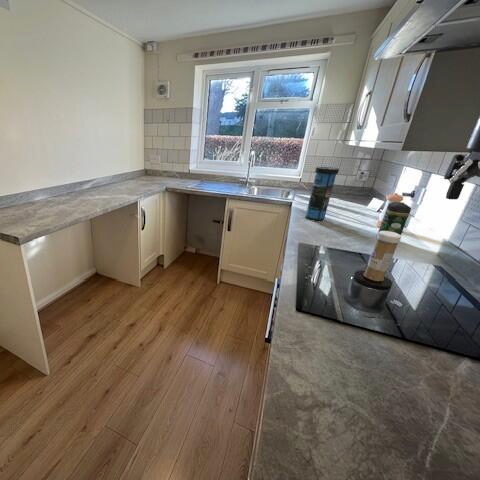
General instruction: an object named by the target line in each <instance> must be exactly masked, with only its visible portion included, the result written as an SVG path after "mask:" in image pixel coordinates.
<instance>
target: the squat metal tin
mask: <svg viewBox="0 0 480 480" xmlns="http://www.w3.org/2000/svg"><path fill="white" fill-rule="evenodd" d="M365 271H366V270H356V271H354V272H353V274H352V275H351V277H350V279H349V283H348V285H347V288H346V292H345V294H344V297H343V298H344V301H345V302H346V303H347V305H349V306H350V307H353V308H354V309H356V310H358V311H362V312H364V313H368V314H381V313H382V312H383V311H384V309H385V307H386V305H387V302H388V300H389V297H390V295H391V292H392V290H393V281H392V280H391V279H390V278H388V277H387V276H386V275H385V276H384V280H383V281H373V280H370V279H368V278H366V277H365V276H364V273H365ZM362 317H364V318H366V316H364V315H363V316H362ZM367 318H369V319H376V318H377V317H376V316H367Z"/></svg>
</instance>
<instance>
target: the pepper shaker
mask: <svg viewBox="0 0 480 480" xmlns="http://www.w3.org/2000/svg"><path fill="white" fill-rule="evenodd" d="M385 199H386V202H385V204H384V208H383V209H382V211H381V213H380V215H379V218H378V219H377V220H376V223H375V227H377V228H379V229H380V226H381V224H382V221H383V218H384V215H385V212H386V209H387V207H388V204H389V203H392V202H403V201H404V197H403V196H402V195H401V194H399V193H397V192H395V193H392V194H391V193H390V194H388V195H386V196H385Z"/></svg>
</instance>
